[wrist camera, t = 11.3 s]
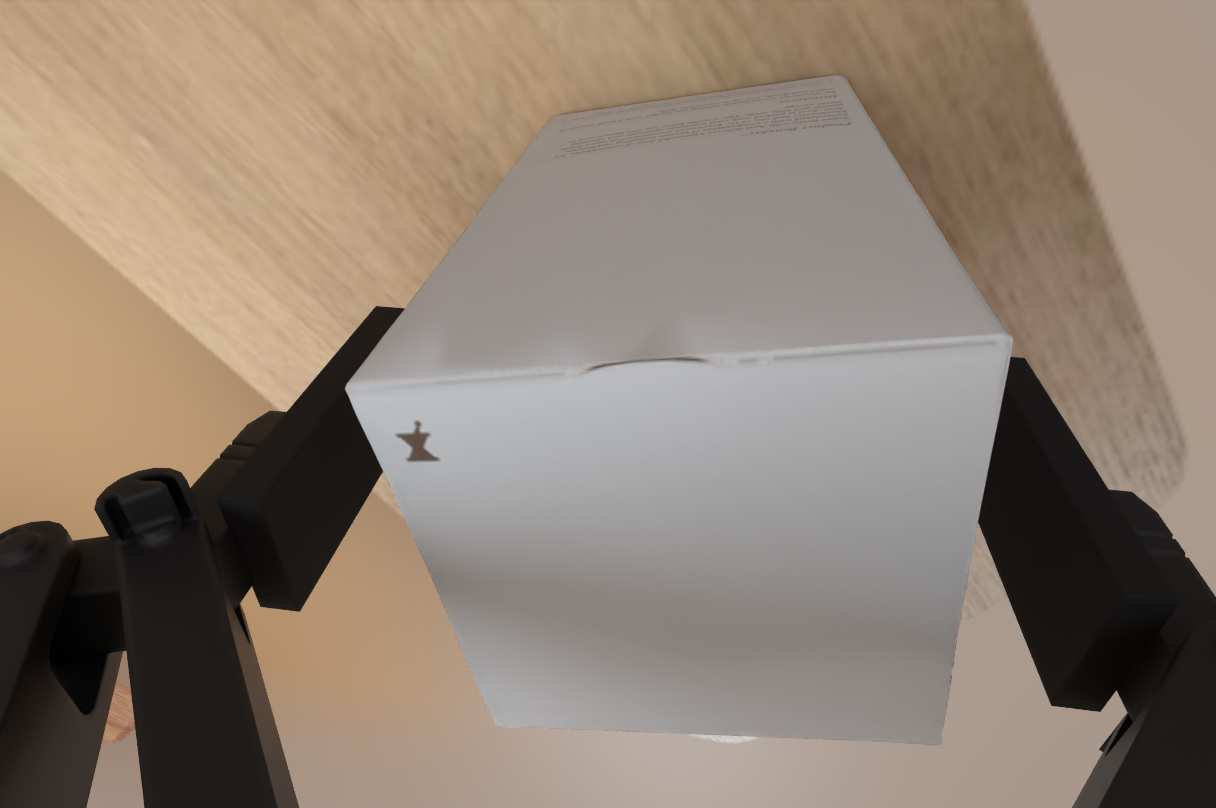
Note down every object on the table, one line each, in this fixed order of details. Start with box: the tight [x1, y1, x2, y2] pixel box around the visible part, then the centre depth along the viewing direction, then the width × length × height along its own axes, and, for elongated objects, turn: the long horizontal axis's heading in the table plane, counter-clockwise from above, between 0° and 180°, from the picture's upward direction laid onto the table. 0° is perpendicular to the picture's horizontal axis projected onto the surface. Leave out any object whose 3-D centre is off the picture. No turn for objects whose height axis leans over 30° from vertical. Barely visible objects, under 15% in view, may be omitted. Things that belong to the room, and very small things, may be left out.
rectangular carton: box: [345, 75, 1013, 745], centre depth 18 cm, size 9×9×15 cm
